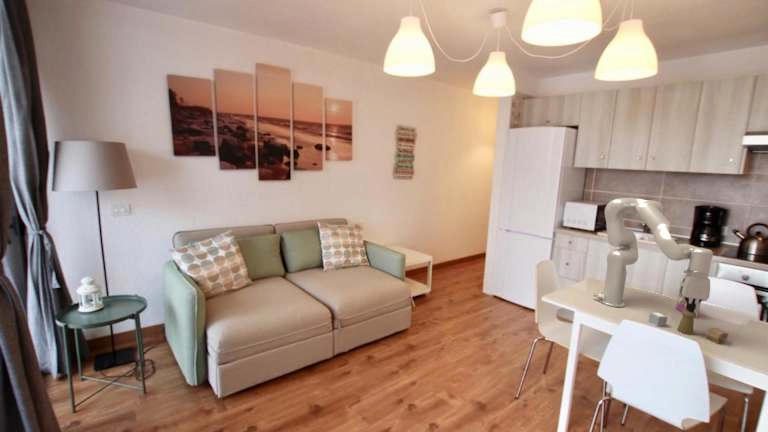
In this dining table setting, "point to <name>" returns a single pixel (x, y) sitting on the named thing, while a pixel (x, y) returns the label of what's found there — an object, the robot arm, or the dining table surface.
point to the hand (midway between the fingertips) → (689, 310)
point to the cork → (687, 322)
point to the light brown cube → (717, 336)
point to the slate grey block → (657, 319)
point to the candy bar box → (682, 304)
